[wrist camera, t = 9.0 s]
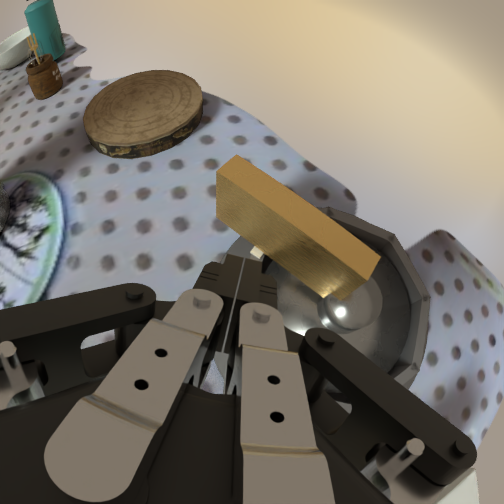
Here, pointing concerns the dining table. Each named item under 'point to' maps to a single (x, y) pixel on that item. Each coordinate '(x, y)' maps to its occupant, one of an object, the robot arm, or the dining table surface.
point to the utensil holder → (43, 73)
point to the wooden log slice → (143, 114)
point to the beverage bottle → (45, 28)
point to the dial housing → (395, 253)
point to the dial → (317, 265)
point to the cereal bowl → (15, 49)
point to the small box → (461, 490)
